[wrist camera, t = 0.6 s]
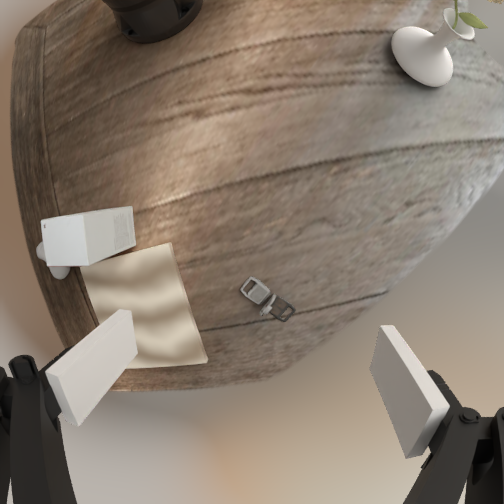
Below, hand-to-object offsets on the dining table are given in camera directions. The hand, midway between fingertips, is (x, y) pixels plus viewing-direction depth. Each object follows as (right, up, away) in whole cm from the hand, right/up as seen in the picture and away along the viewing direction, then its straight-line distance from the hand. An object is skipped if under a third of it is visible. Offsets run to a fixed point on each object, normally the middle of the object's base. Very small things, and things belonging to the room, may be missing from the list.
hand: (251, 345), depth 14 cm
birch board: (-18, -5, +31) cm, 36 cm away
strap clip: (+2, -2, +28) cm, 29 cm away
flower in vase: (+27, +36, +18) cm, 49 cm away
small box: (-22, +9, +28) cm, 37 cm away
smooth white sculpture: (-35, +4, +31) cm, 47 cm away
